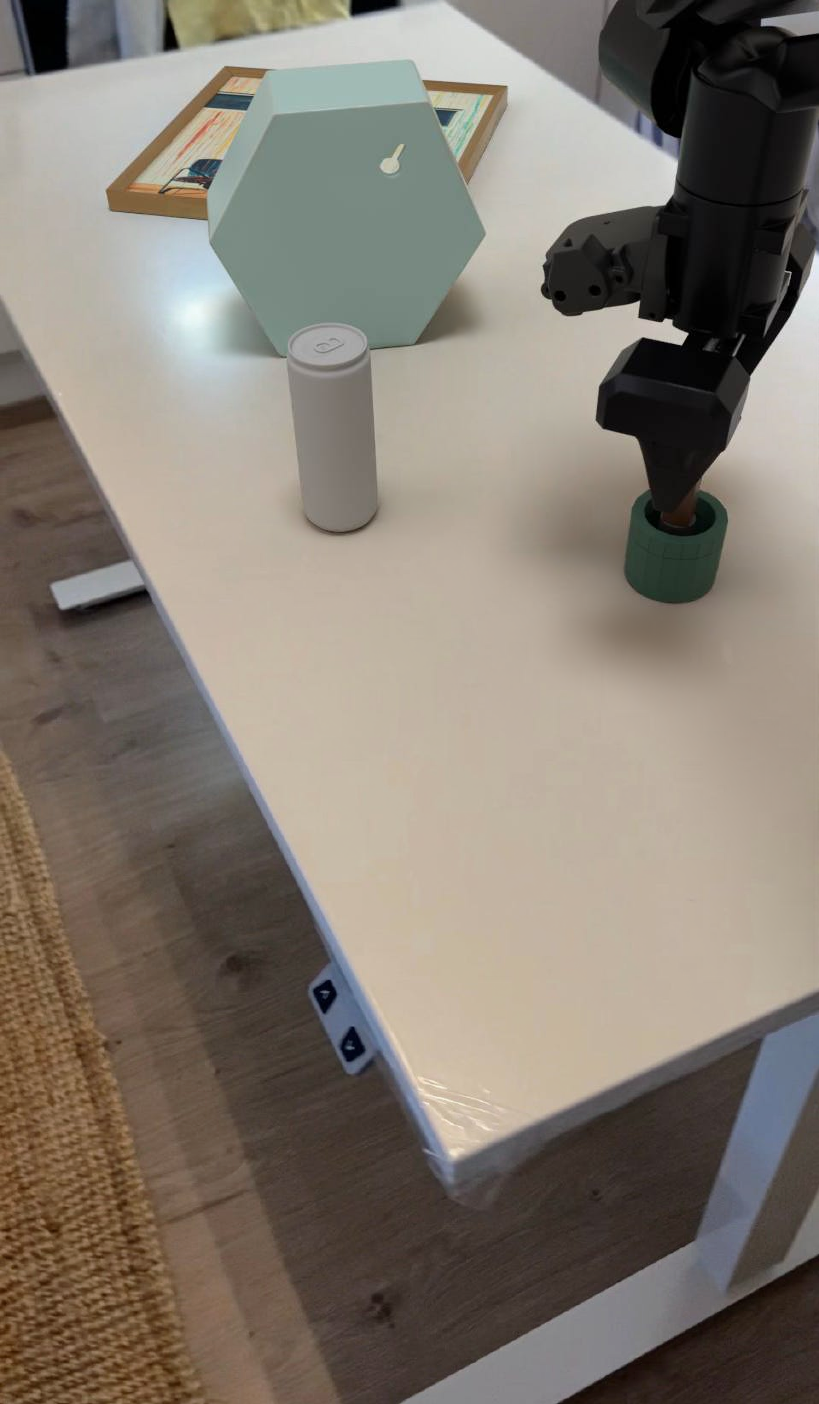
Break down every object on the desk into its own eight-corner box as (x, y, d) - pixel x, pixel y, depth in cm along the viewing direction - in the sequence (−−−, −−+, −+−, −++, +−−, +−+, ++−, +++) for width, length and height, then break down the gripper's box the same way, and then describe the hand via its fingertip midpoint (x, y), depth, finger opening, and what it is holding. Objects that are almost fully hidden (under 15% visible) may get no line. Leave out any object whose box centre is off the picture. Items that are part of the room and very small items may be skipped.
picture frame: (105, 189, 105) (224, 65, 125) (109, 210, 107) (227, 84, 126) (438, 220, 100) (507, 85, 119) (438, 242, 101) (507, 105, 121)
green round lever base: (725, 557, 72) (738, 497, 69) (700, 613, 69) (713, 553, 66) (639, 535, 74) (648, 475, 71) (611, 588, 71) (619, 529, 67)
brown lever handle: (691, 557, 71) (728, 364, 62) (681, 577, 70) (718, 383, 60) (658, 548, 72) (690, 356, 62) (648, 568, 70) (679, 375, 61)
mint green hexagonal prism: (366, 349, 98) (509, 120, 86) (378, 401, 93) (532, 164, 81) (174, 257, 90) (304, -9, 78) (175, 308, 85) (314, 30, 73)
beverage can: (288, 510, 76) (268, 341, 68) (348, 479, 78) (335, 312, 70) (334, 546, 74) (319, 376, 65) (394, 514, 76) (387, 344, 67)
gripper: (632, 82, 62) (603, 349, 74) (497, 236, 51) (488, 524, 62) (849, 113, 59) (783, 388, 70) (756, 285, 48) (696, 580, 59)
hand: (688, 462), depth 66 cm, fingers open, 9 cm apart
